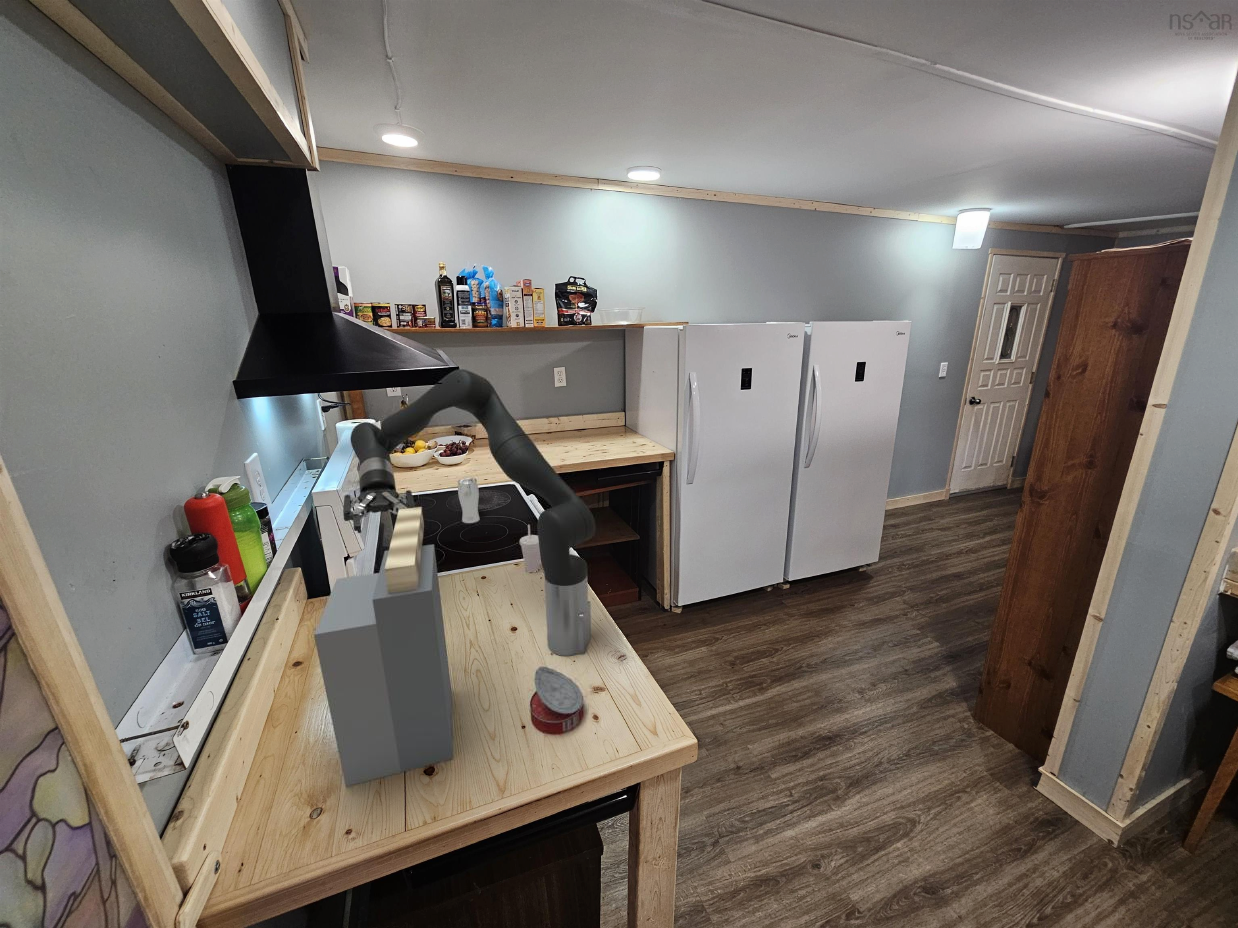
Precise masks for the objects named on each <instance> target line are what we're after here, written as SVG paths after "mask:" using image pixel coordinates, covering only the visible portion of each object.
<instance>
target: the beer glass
mask: <svg viewBox="0 0 1238 928" xmlns="http://www.w3.org/2000/svg"><path fill="white" fill-rule="evenodd" d="M457 494H458V499H459V502H460V503H459V504H460V507H461V510H462V517H461V518H462V519H461V521H462V522H463V523H464V524H473V523H477V522H479V521H480V515H479V508H478V507H479V497H480V496H479V494H480V492H479V484H478V479H477V478H476V477H475V478H474V477H464V478H460V479H459V480H457Z"/></svg>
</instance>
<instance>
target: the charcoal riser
mask: <svg viewBox="0 0 1238 928" xmlns="http://www.w3.org/2000/svg"><path fill="white" fill-rule="evenodd" d="M435 549H436V548H435V544H427V545H422V551H421V560H420V570H419V580H418V589H414V590H408V591H402V592H395V593H389V594H388V589H387V582H386V576H385V565H386V561H387V557H388V552H389V549H388V550H384V553H383V557H382V560H381V564H380V567H379V568H380V569H379V572H377V573H369V574H364V575H363V574H362V575H356V576H349V577H348V576H347V577H344V578H343V577H342V578H336V579H335V582H334V585H333V587H332V589H331V592H330V595H329V596H328V599H327V602H326V605H325V607H324V608H323V612H322V613H321V615H320V616H321V617H320V619H319V621H318V623H317V626H316V627H315V628H316V629H315V631H314V633H313V637H314V642H315V647H316V651H317V655H318V661H319V665H320V671H321V674H322V679H323V684H324V689H325V693H326V694H325V695H326V698H327V705H328V709H329V713H330V718H331V724H332V726H333V727H332V728H333V731H334V737H335V741H336V747H337V750H338V751H337V752H338V756H339V761H340V767H341V770H342V776H343V780H344V784H345V787H346V788H347V787H350V786H355V785H359V784H361V783H366V782H370V781H374V780H377V779H380V778H381V779H382V778H385V777H388V776H392V775H393V776H394V775H396V774H399V773H403V772H407V771H411V770H416V769H420V768H423V767H427V766H431V765H434V764H437V763H441V762H445V761H450V760H453V759H454V757H453V756H454V755H453V752H454V751H453V700H452V699H453V693H452V684H451V683H452V682H451V675H450V667H449V657H448V651H447V650H448V649H447V642H446V640H447V639H446V634H445V632H446V631H445V625H444V618H443V617H444V614H443V609H442V599H441V592H440V591H441V590H440V583H439V576H438V567H437V565H438V564H437V558H436V551H435Z"/></svg>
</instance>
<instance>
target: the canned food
mask: <svg viewBox="0 0 1238 928" xmlns="http://www.w3.org/2000/svg"><path fill="white" fill-rule="evenodd" d="M534 686H535V692H533V694H532V696H531V698H530V701H529V711H530V722H531V724H532V726H533V727H534V729H536V730H537V731H538V732H540V733H543V734H546V735H549V736H550V735H553V736H557V735H558V736H559V735H564V734H566V733H568V732H572V730H574V729H575V728H576V727H578V726H579V725H580V723H581V722H582V719H583V717H584V696H583V692H582V691H581V690H580V687H579V685H578V684H576V682H574V681H573V680H572V679H571V678H570V677H568V676H566V675H565V674H564V673H562V672H559V671H558V670H555V669H554V668H549V667H547V666H539V667H538V668H537V669H536V670H535V673H534Z"/></svg>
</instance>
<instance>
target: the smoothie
mask: <svg viewBox="0 0 1238 928" xmlns="http://www.w3.org/2000/svg"><path fill="white" fill-rule="evenodd" d="M527 529H528V530H527V534H528V535H524V536H523V537H521V538H520V539H519V545H520V546H521V547H520V548H521V552H522V556H523V557H522V558H523V562H524V566H525V567H524V568H525V571H526V572H527V573H528V572H535V571H537V570H538V569H539V570H540V562H541V559H540V549H539V540H538V534H537V535H535V534H531V525H530V524H528V525H527ZM537 572H538V571H537ZM535 573H536V572H535Z"/></svg>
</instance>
